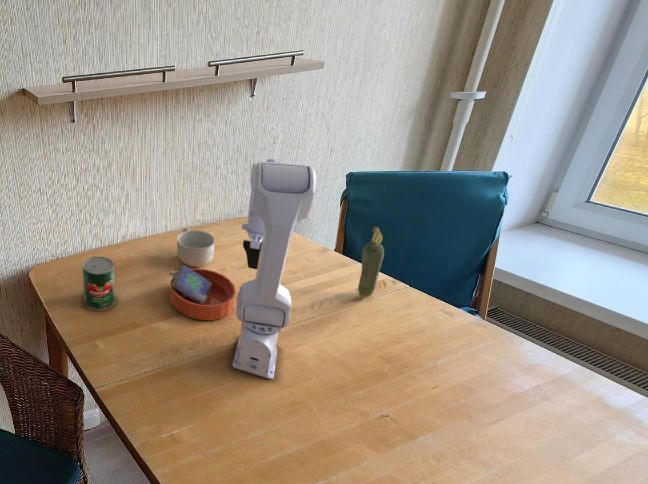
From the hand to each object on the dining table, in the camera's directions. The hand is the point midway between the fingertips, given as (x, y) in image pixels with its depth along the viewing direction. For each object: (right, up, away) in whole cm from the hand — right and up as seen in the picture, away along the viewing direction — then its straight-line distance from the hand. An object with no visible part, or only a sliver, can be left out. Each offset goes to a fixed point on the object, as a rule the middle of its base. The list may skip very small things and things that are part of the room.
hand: (254, 260), depth 108 cm
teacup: (-11, -4, +21) cm, 24 cm away
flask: (-12, -9, +1) cm, 15 cm away
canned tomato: (-40, -11, +3) cm, 41 cm away
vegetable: (+28, -10, +1) cm, 30 cm away
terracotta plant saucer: (-13, -11, +2) cm, 17 cm away
